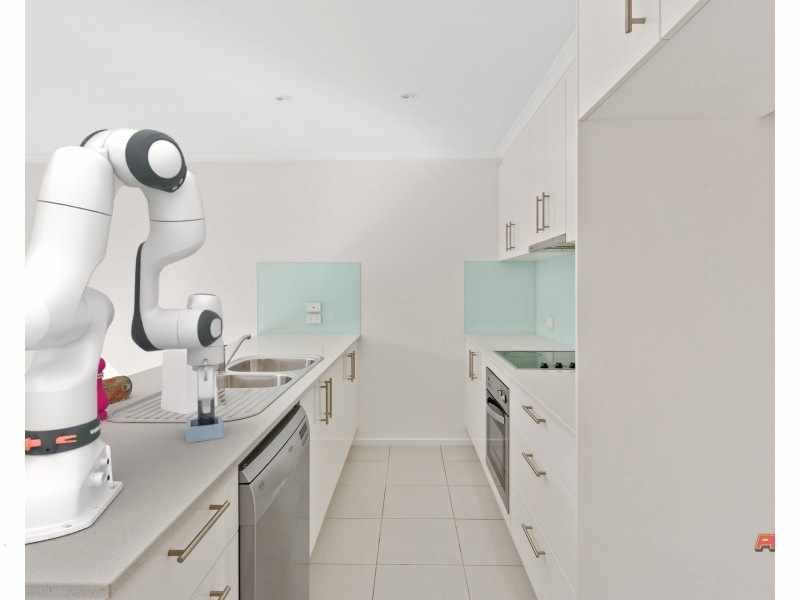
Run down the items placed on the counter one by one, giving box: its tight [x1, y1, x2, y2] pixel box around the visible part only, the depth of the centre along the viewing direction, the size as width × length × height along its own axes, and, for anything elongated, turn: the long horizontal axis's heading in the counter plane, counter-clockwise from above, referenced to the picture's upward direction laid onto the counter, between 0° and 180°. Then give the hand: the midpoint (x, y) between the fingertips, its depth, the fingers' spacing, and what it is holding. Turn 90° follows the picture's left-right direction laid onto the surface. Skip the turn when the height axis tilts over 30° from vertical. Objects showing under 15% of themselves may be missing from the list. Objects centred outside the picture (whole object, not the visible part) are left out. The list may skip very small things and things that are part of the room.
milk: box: [160, 349, 219, 415], centre depth 141 cm, size 12×12×26 cm
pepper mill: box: [97, 356, 110, 421], centre depth 128 cm, size 7×7×20 cm
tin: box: [102, 375, 133, 405], centre depth 147 cm, size 15×3×8 cm, turn 167°
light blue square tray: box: [185, 415, 224, 444], centre depth 115 cm, size 8×8×4 cm
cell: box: [197, 398, 216, 426], centre depth 115 cm, size 4×4×9 cm
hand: (206, 409), depth 115 cm, fingers closed on cell, 4 cm apart
